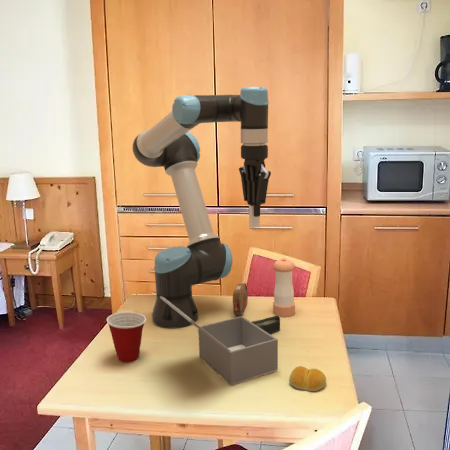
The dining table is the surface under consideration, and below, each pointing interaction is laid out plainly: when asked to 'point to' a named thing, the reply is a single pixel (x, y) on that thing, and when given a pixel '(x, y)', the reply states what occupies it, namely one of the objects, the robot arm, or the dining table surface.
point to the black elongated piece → (269, 324)
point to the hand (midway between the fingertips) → (254, 226)
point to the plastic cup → (126, 334)
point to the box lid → (194, 324)
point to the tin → (240, 299)
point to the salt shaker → (283, 289)
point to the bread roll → (307, 379)
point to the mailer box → (239, 350)
